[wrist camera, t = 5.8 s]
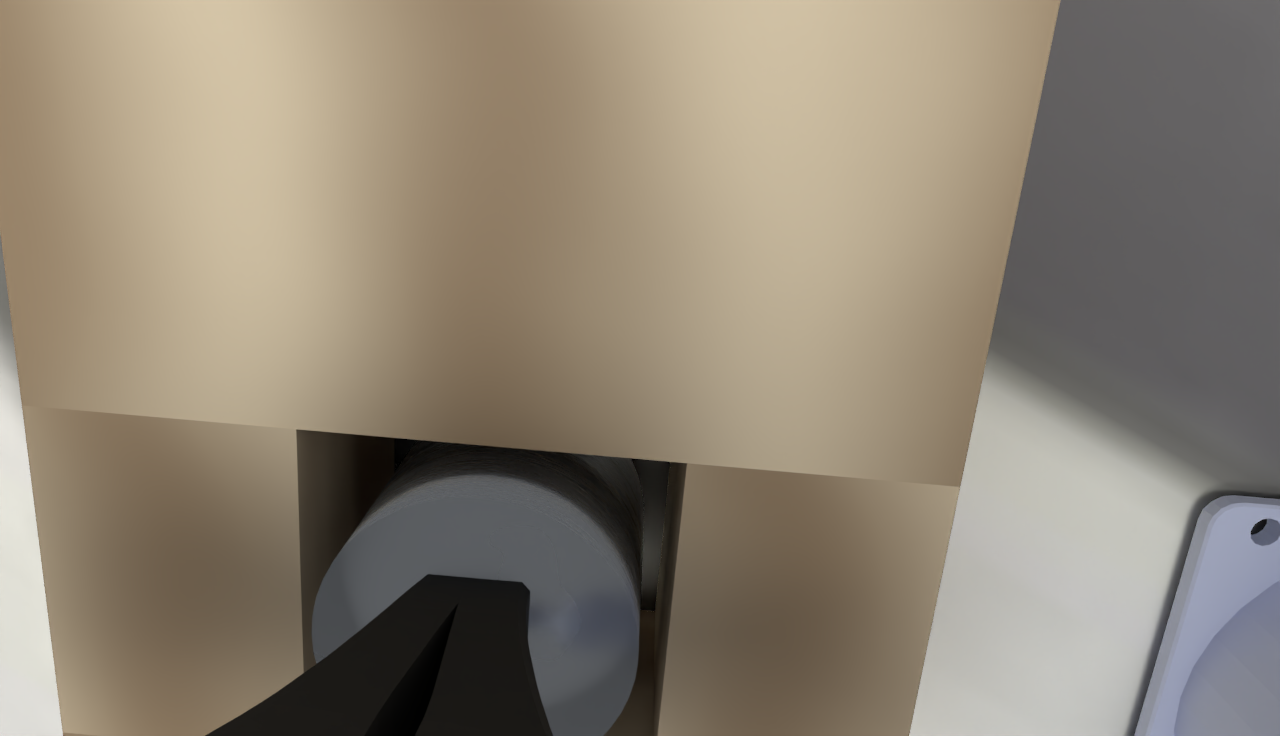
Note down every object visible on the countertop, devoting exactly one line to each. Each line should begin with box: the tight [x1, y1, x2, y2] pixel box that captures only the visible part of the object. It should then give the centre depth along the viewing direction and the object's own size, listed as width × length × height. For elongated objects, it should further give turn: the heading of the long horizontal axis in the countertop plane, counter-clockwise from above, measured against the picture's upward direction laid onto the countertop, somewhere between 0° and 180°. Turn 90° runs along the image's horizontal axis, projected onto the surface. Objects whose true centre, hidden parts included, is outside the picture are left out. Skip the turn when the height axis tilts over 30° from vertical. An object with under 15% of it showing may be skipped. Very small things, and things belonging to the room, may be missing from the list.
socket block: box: [0, 0, 1060, 736], centre depth 13 cm, size 12×24×4 cm, turn 175°
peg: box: [312, 440, 644, 736], centre depth 14 cm, size 4×4×4 cm
